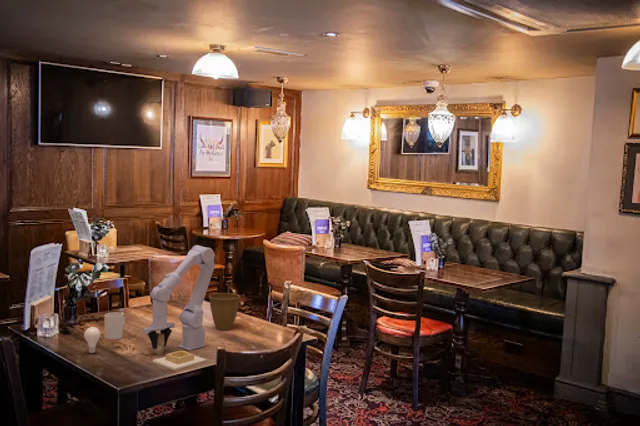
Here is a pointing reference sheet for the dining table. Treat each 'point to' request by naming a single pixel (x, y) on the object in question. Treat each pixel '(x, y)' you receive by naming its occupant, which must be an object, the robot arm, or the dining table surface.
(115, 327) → the mug
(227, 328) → the plant pot
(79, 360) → the dining table surface
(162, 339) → the birch peg
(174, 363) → the socket plate
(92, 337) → the lightbulb
